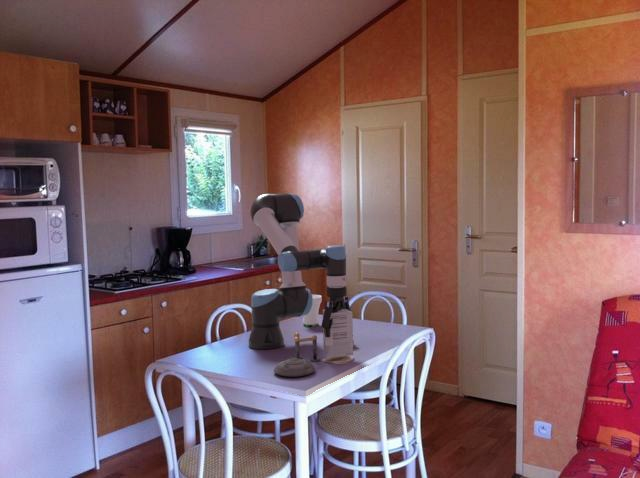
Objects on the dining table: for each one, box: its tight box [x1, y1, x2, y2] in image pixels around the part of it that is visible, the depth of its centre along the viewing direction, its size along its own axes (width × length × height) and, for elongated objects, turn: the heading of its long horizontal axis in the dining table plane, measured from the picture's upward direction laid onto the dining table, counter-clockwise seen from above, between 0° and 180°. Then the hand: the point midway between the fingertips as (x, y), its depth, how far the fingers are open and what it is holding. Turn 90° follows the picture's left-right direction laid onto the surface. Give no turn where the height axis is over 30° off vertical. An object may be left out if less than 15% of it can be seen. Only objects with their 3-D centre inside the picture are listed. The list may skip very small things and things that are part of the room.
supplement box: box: [322, 308, 354, 358], centre depth 234 cm, size 10×9×17 cm
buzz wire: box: [292, 332, 321, 363], centre depth 235 cm, size 12×10×10 cm
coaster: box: [321, 355, 355, 366], centre depth 235 cm, size 9×9×1 cm
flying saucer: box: [273, 357, 316, 378], centre depth 220 cm, size 15×15×6 cm
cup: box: [302, 294, 323, 328], centre depth 297 cm, size 11×11×14 cm
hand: (337, 341), depth 234 cm, fingers closed on supplement box, 13 cm apart
